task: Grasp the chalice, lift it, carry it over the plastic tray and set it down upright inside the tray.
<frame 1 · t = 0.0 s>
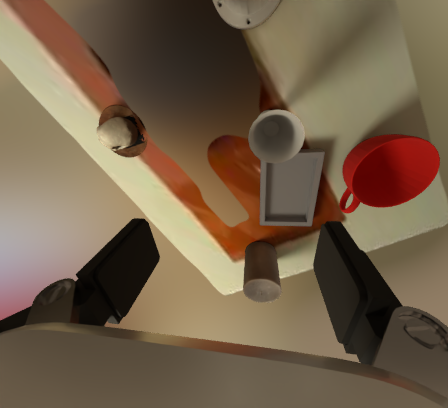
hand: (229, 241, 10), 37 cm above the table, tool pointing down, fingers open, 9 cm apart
ceramic cup: (357, 166, 42), on the table
tray: (286, 188, 47), on the table
skull: (125, 132, 46), on the table
chalice: (268, 122, 40), on the table
pillar candle: (260, 252, 59), on the table
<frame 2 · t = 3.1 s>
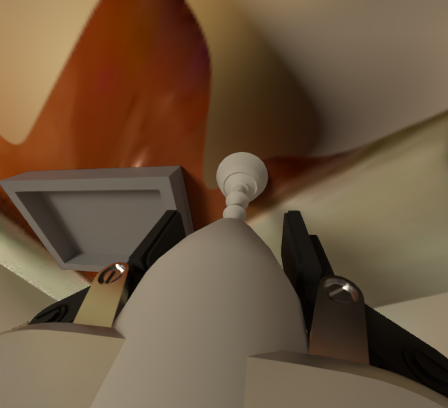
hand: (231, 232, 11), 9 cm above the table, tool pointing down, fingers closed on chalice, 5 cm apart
tray: (119, 218, 23), on the table
chalice: (241, 177, 18), on the table, touching gripper
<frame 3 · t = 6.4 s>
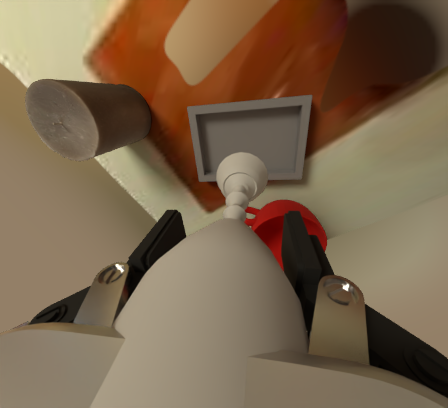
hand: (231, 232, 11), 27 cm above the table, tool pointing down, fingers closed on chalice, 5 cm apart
ceramic cup: (272, 210, 41), on the table
tray: (247, 141, 34), on the table
chalice: (241, 177, 18), point 18 cm above the table, touching gripper
pillar candle: (128, 115, 35), on the table
when the fingers open (11 cm above the table, at t = 9.7 s): chalice drops 1 cm, resting on tray.
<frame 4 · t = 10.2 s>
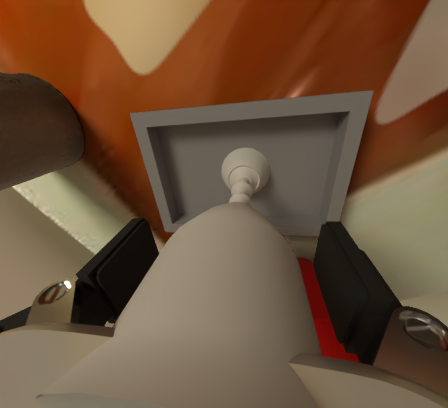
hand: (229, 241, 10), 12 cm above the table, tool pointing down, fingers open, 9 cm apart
ceramic cup: (281, 267, 27), on the table
tray: (243, 169, 20), on the table
chalice: (245, 171, 19), point 1 cm above the table, touching tray
pillar candle: (47, 125, 21), on the table
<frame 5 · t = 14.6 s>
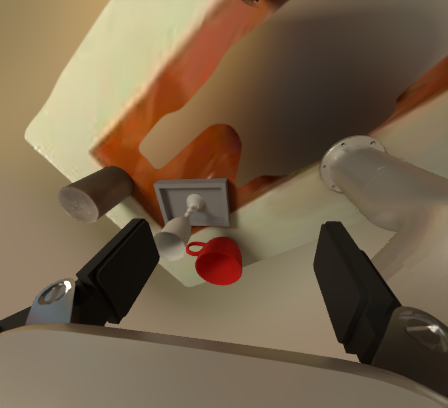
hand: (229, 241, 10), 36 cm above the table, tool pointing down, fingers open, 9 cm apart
ceramic cup: (218, 241, 59), on the table
tray: (195, 200, 52), on the table
chalice: (195, 201, 51), point 1 cm above the table, touching tray
pillar candle: (117, 182, 53), on the table
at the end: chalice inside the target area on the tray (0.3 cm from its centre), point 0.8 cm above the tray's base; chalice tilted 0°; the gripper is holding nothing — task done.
